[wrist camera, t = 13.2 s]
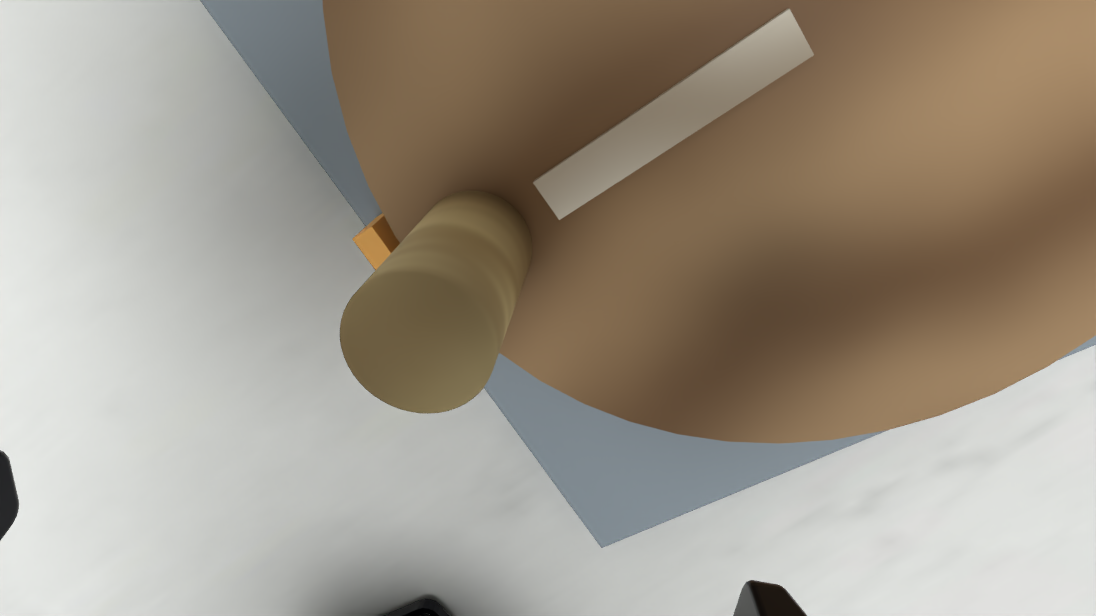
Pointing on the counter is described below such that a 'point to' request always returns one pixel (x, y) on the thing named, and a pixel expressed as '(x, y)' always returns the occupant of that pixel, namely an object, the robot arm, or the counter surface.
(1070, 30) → the cam dial
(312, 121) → the base plate
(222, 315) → the counter surface
